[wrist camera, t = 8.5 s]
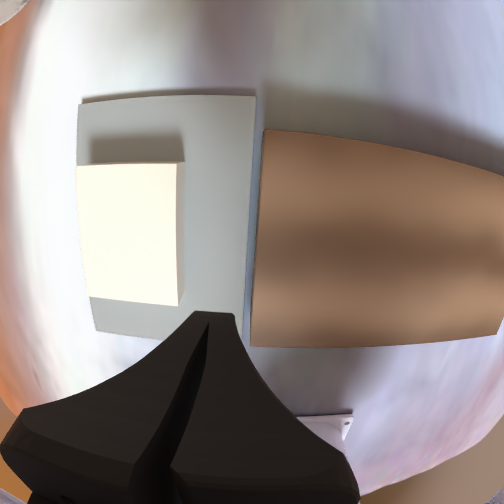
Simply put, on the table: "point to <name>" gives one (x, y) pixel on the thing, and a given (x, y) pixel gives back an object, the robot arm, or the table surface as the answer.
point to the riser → (373, 246)
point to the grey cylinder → (10, 9)
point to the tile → (132, 230)
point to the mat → (195, 196)
